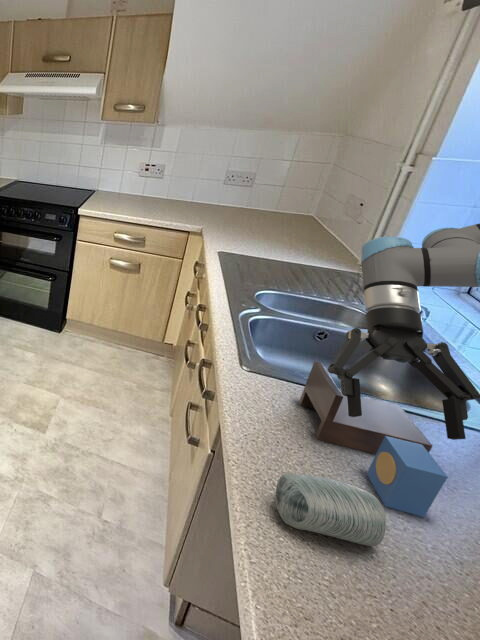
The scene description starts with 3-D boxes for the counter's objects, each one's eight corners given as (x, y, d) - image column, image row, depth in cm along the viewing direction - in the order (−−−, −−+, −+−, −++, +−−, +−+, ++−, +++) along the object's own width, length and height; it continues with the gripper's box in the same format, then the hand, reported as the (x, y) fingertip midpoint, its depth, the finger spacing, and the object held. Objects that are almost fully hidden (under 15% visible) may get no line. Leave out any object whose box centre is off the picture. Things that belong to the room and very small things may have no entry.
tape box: (402, 483, 73) (423, 444, 70) (425, 518, 67) (449, 477, 64) (365, 473, 75) (383, 435, 72) (383, 506, 69) (405, 465, 66)
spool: (282, 529, 61) (308, 467, 62) (255, 500, 71) (278, 446, 71) (389, 584, 58) (416, 518, 58) (345, 546, 67) (369, 489, 67)
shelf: (389, 423, 87) (410, 380, 83) (421, 466, 77) (447, 419, 73) (298, 402, 93) (314, 361, 89) (317, 439, 83) (335, 395, 79)
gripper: (322, 294, 81) (326, 404, 73) (497, 319, 72) (523, 448, 64) (305, 306, 87) (307, 409, 79) (464, 331, 78) (484, 449, 71)
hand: (404, 427), depth 72 cm, fingers open, 13 cm apart
